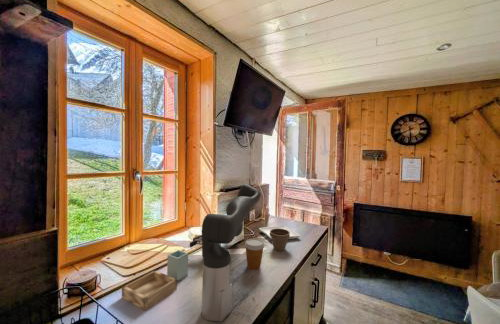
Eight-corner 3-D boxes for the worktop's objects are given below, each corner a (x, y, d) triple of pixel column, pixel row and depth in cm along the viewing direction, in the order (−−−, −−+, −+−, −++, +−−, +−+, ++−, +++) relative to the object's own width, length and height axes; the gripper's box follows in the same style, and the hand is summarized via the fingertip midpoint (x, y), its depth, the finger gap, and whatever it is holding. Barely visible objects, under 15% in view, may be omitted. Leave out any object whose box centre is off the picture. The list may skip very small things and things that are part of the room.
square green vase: (187, 275, 97) (188, 253, 97) (177, 282, 92) (177, 258, 92) (177, 271, 100) (178, 249, 100) (167, 278, 95) (167, 255, 95)
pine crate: (176, 289, 87) (177, 279, 87) (145, 310, 75) (145, 299, 75) (154, 279, 94) (154, 270, 93) (121, 297, 81) (122, 287, 81)
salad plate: (284, 229, 164) (284, 224, 164) (301, 240, 144) (301, 235, 144) (258, 232, 156) (258, 227, 156) (271, 243, 136) (272, 238, 136)
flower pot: (280, 255, 120) (280, 236, 120) (265, 248, 129) (265, 230, 129) (293, 249, 128) (294, 232, 128) (278, 243, 137) (279, 227, 136)
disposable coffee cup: (253, 260, 114) (254, 236, 113) (267, 267, 107) (268, 242, 107) (239, 266, 107) (240, 241, 107) (253, 274, 100) (254, 247, 100)
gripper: (207, 227, 124) (185, 236, 110) (228, 232, 117) (208, 242, 103) (207, 240, 124) (185, 251, 110) (228, 246, 117) (208, 258, 103)
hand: (196, 247), depth 106 cm, fingers open, 8 cm apart
